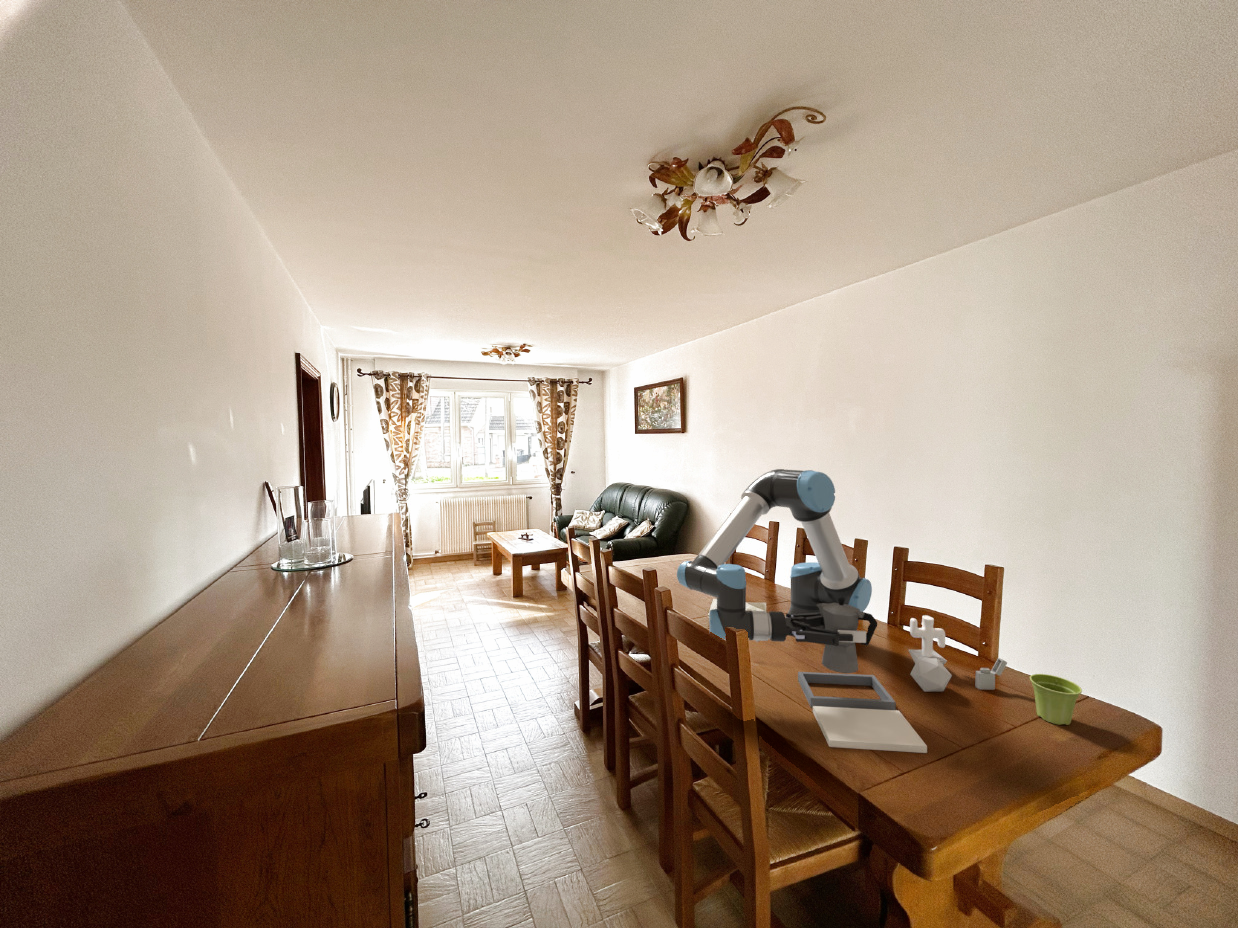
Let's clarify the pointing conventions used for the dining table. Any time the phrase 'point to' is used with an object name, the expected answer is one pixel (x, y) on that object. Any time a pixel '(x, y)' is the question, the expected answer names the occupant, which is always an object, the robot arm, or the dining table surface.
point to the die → (930, 674)
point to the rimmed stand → (847, 679)
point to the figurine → (927, 639)
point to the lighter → (989, 675)
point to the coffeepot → (843, 619)
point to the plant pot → (1055, 698)
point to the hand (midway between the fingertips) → (858, 629)
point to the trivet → (868, 729)
